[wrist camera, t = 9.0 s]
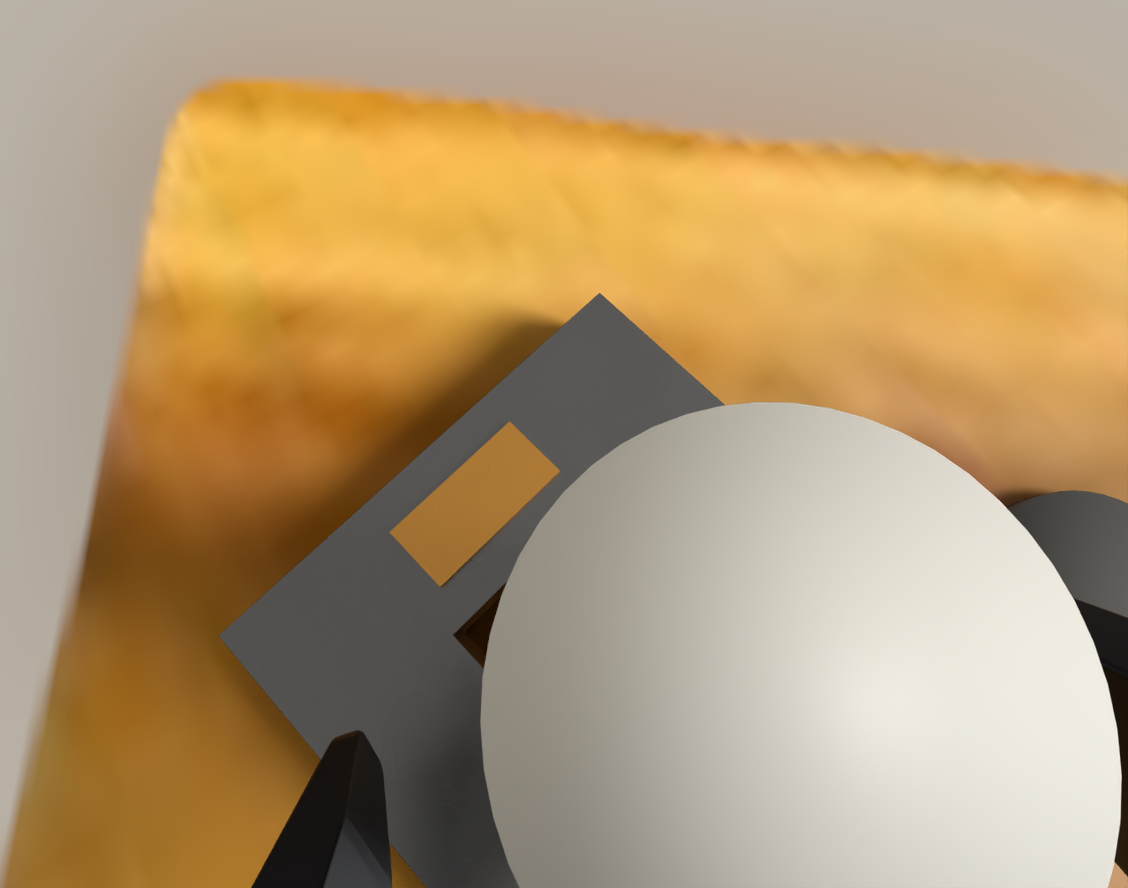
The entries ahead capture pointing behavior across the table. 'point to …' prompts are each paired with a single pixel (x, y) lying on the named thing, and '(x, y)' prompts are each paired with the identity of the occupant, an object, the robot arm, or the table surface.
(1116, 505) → the pad
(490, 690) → the peg
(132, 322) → the table surface
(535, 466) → the rack plate
